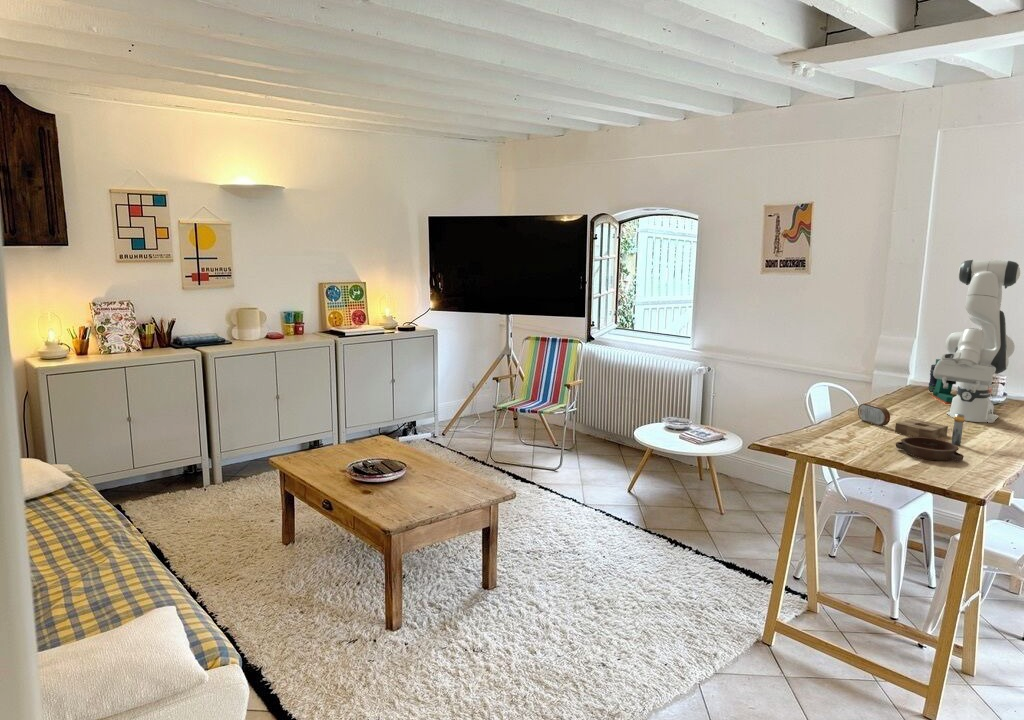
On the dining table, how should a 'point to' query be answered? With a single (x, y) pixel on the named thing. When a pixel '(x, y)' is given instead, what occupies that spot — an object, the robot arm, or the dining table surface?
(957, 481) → the dining table surface
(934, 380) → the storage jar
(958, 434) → the grey upright cylinder
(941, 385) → the power tool
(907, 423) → the brown square frame
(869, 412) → the tin
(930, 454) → the dish
